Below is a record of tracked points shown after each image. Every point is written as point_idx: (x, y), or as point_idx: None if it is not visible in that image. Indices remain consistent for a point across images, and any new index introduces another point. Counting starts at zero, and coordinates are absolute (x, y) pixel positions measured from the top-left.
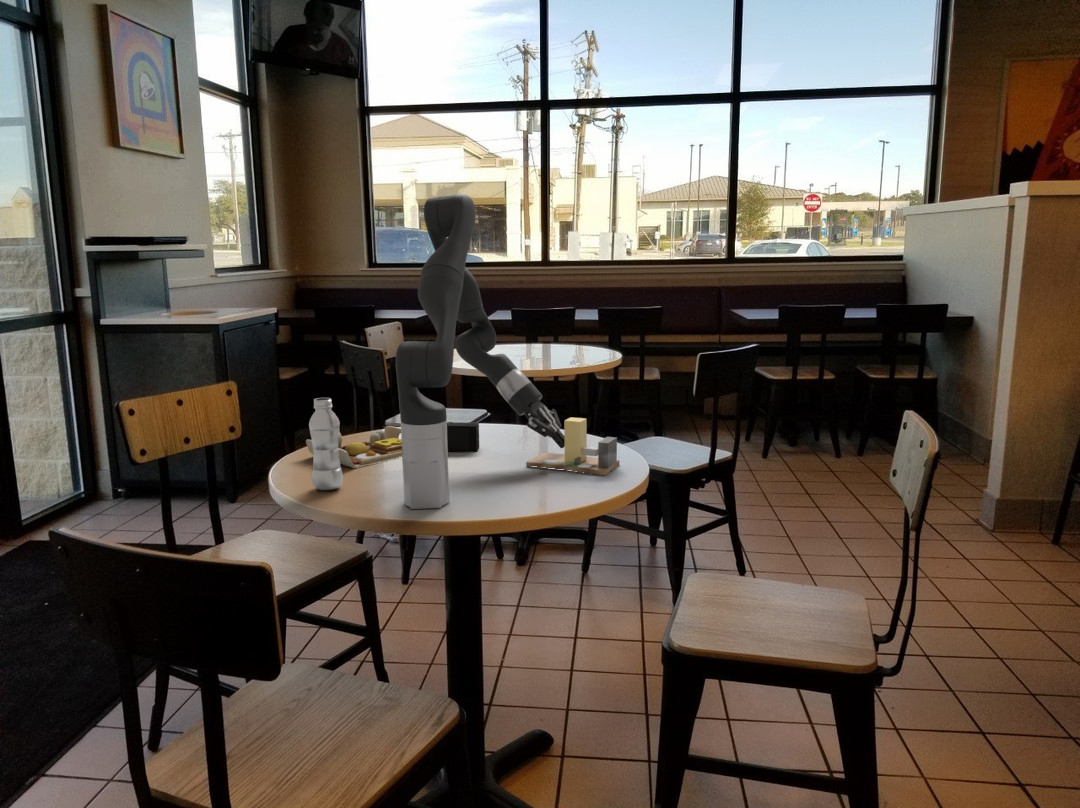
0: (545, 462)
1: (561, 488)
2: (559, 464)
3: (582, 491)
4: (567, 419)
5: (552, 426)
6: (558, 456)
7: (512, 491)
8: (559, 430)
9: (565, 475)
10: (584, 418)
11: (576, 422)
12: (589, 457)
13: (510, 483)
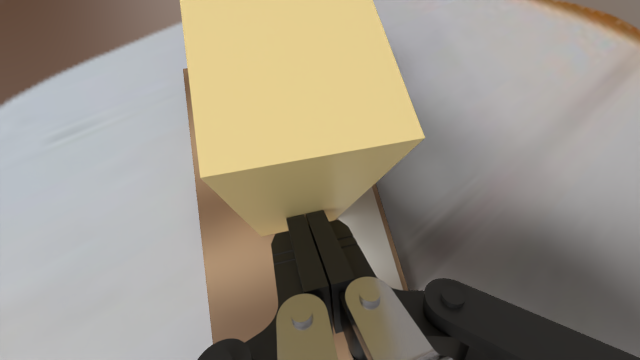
0: (399, 280)
1: (507, 103)
2: (379, 214)
3: (484, 51)
4: (351, 141)
5: (396, 332)
6: (262, 312)
7: (630, 196)
8: (276, 315)
9: (407, 163)
10: (183, 10)
11: (374, 21)
12: (202, 180)
13: (596, 257)
